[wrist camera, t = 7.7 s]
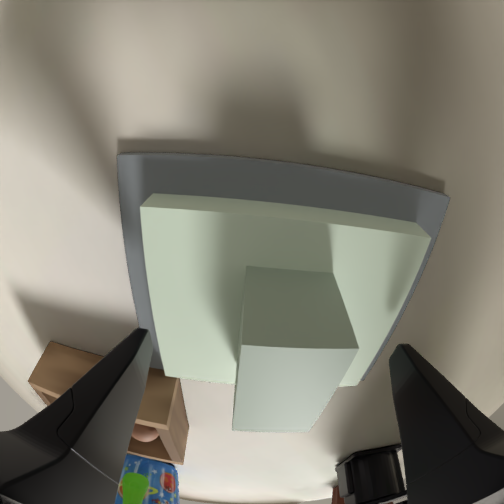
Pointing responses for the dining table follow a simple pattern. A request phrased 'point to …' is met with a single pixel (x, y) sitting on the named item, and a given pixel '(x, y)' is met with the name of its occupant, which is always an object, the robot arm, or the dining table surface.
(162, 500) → the snack cup
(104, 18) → the dining table surface
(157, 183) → the mat
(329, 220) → the lid
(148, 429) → the crate
